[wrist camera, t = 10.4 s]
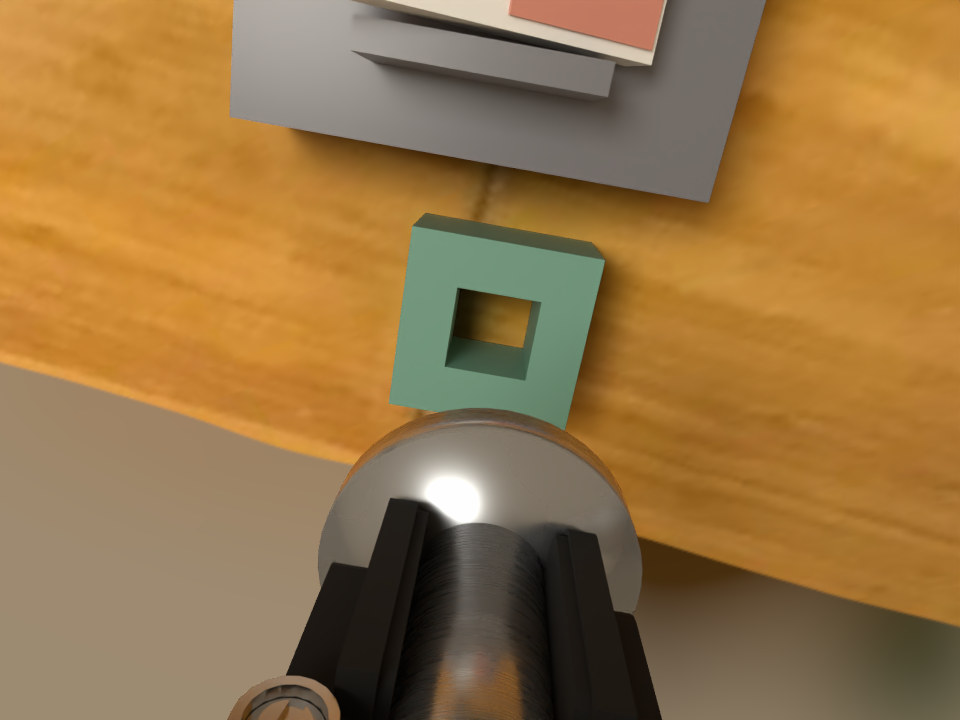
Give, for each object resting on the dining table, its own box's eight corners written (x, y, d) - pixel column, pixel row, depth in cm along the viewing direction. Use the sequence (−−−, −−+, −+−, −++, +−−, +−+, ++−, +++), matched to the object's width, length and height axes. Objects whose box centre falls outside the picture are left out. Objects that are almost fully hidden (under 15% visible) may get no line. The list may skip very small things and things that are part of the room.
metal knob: (630, 364, 16) (944, 975, 4) (573, 564, 18) (689, 1327, 6) (387, 319, 16) (71, 832, 4) (358, 526, 18) (94, 1240, 6)
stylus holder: (591, 242, 31) (605, 260, 26) (556, 395, 33) (563, 433, 29) (425, 212, 30) (412, 226, 26) (403, 369, 33) (388, 403, 29)
